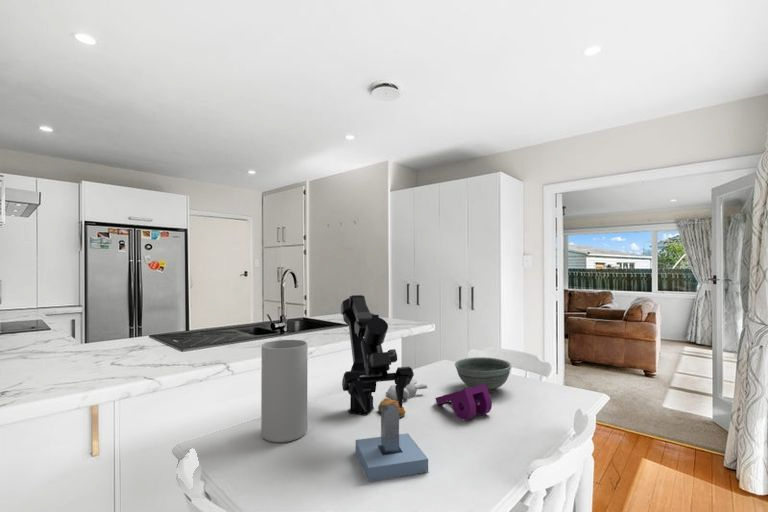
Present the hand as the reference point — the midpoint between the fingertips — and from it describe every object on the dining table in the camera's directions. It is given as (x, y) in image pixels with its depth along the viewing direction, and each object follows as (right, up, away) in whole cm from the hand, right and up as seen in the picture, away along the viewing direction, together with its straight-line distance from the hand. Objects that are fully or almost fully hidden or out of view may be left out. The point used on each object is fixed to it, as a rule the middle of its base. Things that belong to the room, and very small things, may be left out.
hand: (383, 409), depth 99 cm
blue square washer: (+1, -11, -5) cm, 12 cm away
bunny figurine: (+8, -12, +41) cm, 43 cm away
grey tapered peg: (+2, -11, -5) cm, 12 cm away
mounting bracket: (+25, -12, +27) cm, 39 cm away
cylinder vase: (-28, -11, +10) cm, 32 cm away
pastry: (+3, -12, +25) cm, 28 cm away
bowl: (+37, -12, +48) cm, 62 cm away
